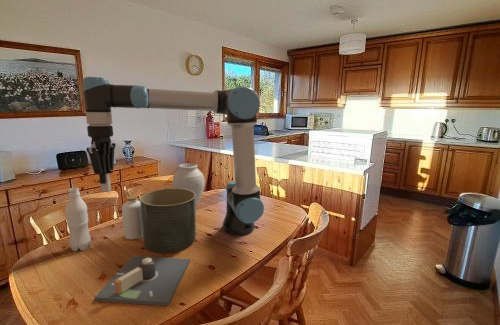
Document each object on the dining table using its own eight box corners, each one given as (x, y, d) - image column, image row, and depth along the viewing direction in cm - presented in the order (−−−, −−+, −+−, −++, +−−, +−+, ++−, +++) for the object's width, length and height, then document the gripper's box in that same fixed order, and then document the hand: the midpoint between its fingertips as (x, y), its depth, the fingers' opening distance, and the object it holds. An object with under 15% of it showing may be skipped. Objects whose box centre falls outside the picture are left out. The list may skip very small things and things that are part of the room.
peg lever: (149, 268, 89) (148, 254, 88) (159, 273, 87) (158, 259, 86) (112, 290, 78) (110, 274, 77) (122, 297, 76) (120, 280, 75)
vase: (176, 201, 157) (174, 161, 152) (205, 201, 159) (205, 161, 154) (170, 213, 139) (168, 168, 134) (203, 212, 141) (203, 168, 136)
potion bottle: (137, 241, 110) (134, 201, 106) (120, 239, 111) (116, 199, 108) (148, 232, 118) (146, 195, 114) (132, 230, 119) (129, 193, 116)
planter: (155, 227, 123) (153, 187, 119) (201, 229, 122) (200, 188, 118) (133, 253, 101) (129, 204, 97) (189, 255, 101) (187, 206, 96)
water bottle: (95, 245, 106) (89, 187, 101) (79, 254, 99) (71, 192, 94) (82, 242, 108) (76, 185, 103) (65, 250, 102) (57, 190, 96)
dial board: (190, 261, 96) (189, 258, 96) (168, 305, 75) (167, 301, 75) (132, 258, 98) (132, 255, 97) (95, 300, 76) (94, 296, 76)
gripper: (101, 123, 94) (106, 185, 99) (75, 125, 81) (83, 197, 86) (121, 124, 94) (125, 186, 98) (98, 126, 81) (105, 198, 86)
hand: (106, 191), depth 92 cm, fingers closed
